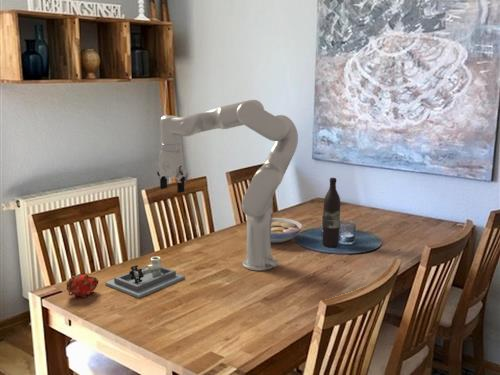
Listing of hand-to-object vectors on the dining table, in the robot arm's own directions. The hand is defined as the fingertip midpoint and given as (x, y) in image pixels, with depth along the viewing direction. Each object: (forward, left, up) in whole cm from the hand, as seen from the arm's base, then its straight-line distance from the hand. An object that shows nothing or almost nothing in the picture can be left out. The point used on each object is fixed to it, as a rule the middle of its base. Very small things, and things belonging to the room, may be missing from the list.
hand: (172, 190), depth 216 cm
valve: (-10, +23, -28) cm, 37 cm away
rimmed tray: (-10, +24, -28) cm, 38 cm away
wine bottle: (-42, -54, -28) cm, 74 cm away
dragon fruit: (-2, +45, -29) cm, 53 cm away
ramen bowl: (-20, -44, -28) cm, 56 cm away
